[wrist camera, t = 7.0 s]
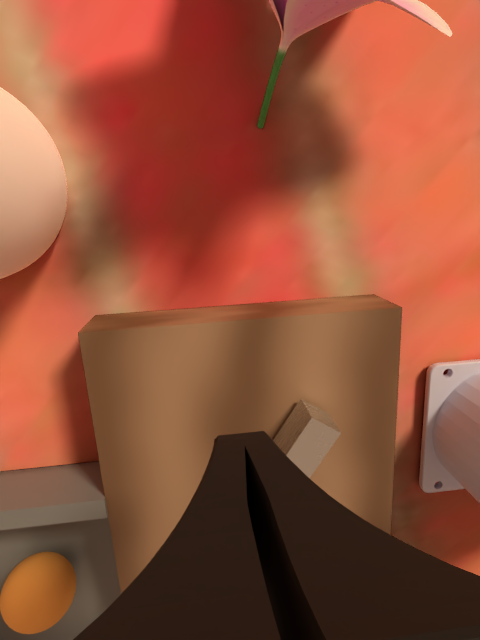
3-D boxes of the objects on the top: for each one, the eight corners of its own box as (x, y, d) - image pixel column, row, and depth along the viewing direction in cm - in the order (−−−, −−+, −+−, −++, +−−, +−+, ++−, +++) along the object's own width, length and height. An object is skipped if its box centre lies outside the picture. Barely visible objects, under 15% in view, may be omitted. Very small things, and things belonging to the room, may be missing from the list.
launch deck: (373, 294, 21) (402, 307, 18) (364, 599, 26) (384, 648, 23) (95, 315, 20) (77, 332, 17) (143, 630, 25) (136, 685, 22)
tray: (117, 459, 22) (104, 499, 19) (147, 654, 25) (139, 715, 22) (-80, 479, 21) (-128, 525, 18) (-20, 678, 25) (-51, 745, 22)
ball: (-6, 580, 22) (51, 528, 23) (38, 627, 22) (92, 573, 23) (-27, 612, 18) (40, 550, 20) (24, 668, 19) (88, 602, 20)
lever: (337, 417, 19) (351, 438, 17) (179, 647, 21) (177, 685, 20) (290, 392, 18) (300, 412, 16) (134, 631, 21) (128, 670, 19)
